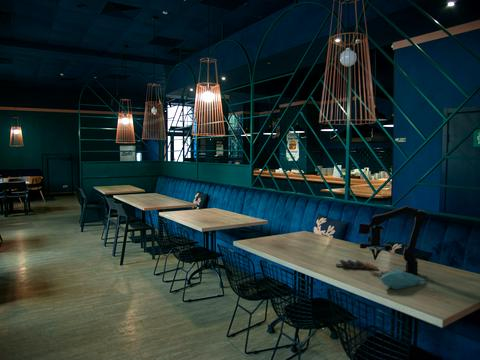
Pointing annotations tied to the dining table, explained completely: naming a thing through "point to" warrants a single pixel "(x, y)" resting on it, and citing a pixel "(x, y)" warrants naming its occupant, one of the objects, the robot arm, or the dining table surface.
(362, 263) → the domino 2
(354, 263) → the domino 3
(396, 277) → the crystal
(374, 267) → the domino
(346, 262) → the domino
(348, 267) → the domino
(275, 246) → the dining table surface
